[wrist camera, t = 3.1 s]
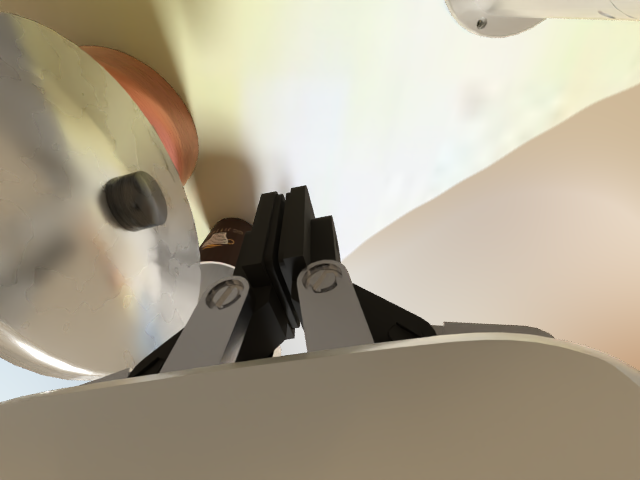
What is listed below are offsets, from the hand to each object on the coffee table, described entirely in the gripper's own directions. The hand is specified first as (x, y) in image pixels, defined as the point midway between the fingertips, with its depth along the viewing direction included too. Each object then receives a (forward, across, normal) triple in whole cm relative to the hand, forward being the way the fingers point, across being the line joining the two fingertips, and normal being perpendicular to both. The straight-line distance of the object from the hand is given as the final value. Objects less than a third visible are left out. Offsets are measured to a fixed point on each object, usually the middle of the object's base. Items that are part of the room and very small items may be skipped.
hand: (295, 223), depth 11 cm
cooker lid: (+5, +11, 0) cm, 12 cm away
